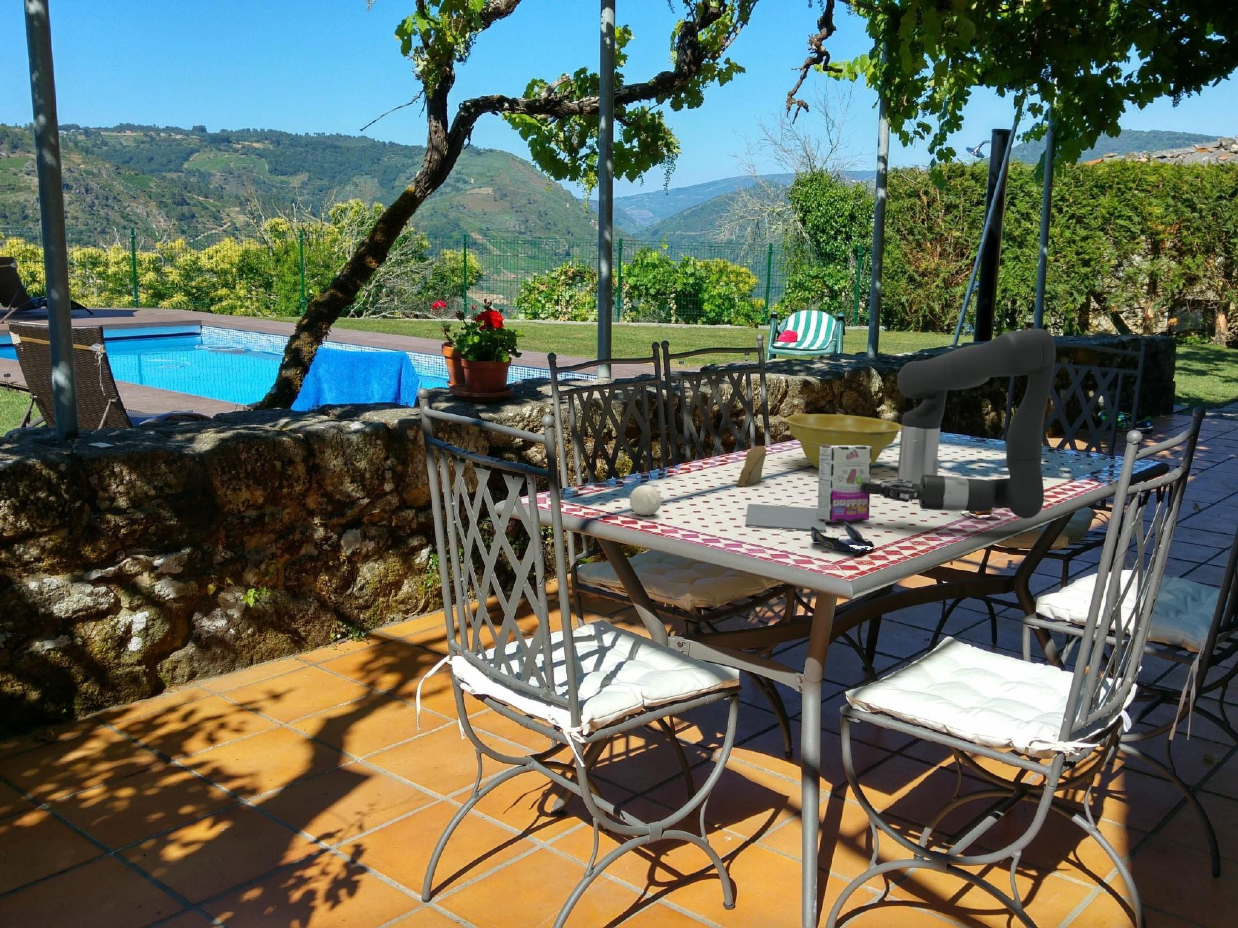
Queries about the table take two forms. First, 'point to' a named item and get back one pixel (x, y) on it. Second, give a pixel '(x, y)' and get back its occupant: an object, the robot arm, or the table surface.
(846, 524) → the snack package
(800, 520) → the mat
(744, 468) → the rock
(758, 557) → the table surface
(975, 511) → the hamburger
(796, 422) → the planter bowl
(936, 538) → the table surface
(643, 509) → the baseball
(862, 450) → the candy bar box
